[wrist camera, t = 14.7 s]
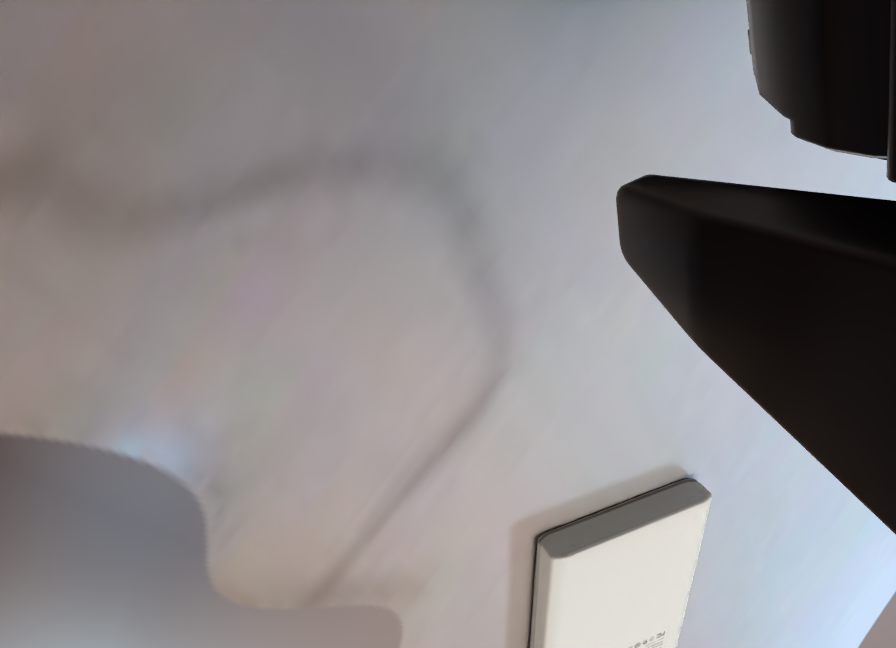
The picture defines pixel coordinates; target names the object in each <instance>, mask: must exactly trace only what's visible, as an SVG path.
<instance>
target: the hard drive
mask: <svg viewBox="0 0 896 648" xmlns="http://www.w3.org/2000/svg"><path fill="white" fill-rule="evenodd" d="M711 500H712V495H711V493H710V492H709V491H708V490H707V489H706V488H705V487H704V486H703V485H702V484H701V483H699V482H697V481H696V480H695V479H685V480H681V481H679V482H676V483H673V484H670V485H668V486H665V487H663V488H660V489H657V490H655V491H652V492H649V493H647V494H644V495H641V496H639V497H636V498H633V499H631V500H629V501H626V502H624V503H621V504H618V505H616V506H613V507H611V508H608V509H606V510H603V511H601V512H598V513H596V514H593V515H590V516H587V517H585V518H583V519H580V520H578V521H575V522H572V523H569V524H567V525H565V526H562V527H559V528H557V529H554V530H551V531H549V532H546V533H544V534H543V535H542V536H541V537H539V539H538V544H537V557H536V570H535V583H534V598H533V610H532V623H531V638H530V648H677V644H678V640H679V636H680V632H681V627H682V623H683V619H684V615H685V611H686V606H687V602H688V598H689V594H690V590H691V585H692V581H693V577H694V573H695V568H696V564H697V560H698V556H699V552H700V547H701V543H702V538H703V534H704V530H705V525H706V521H707V516H708V512H709V508H710V504H711Z"/></svg>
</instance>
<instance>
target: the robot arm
mask: <svg viewBox="0 0 896 648" xmlns="http://www.w3.org/2000/svg"><path fill="white" fill-rule="evenodd" d="M746 1H747V12H748V22H749V30H748V37H749V47H750V53H751V55H752V63H753V71H754V75H755V79H756V82H757V86H758V90H759V93H760V95H761V96H762V97H763V98H764V99H765V100H766V101H768V102H769V103H770V104H771V105H772V106H773V107H774V108H775V109H776V110H777V111H779V112H780V113H781V114H782V115H783V116H784V117H786V118H788V119H790V124H791V133H792V134H793V135H794V136H796V137H797V138H800V139H802V140H805V141H807V142H810V143H813V144H816V145H819V146H821V147H824V148H827V149H830V150H833V151H836V152H841V153H847V154H853V155H858V156H864V157H870V158H878V159H883V160H887V178H888V179H889V180H890V181H892V182H896V0H746ZM616 203H617V215H618V226H619V238H620V246H621V250H622V253H623V255H624V257H625V259H626V261H627V262H628V264H629V265H630V266H631V268H632V269H633V270H634V271H635V272H636V273H637V275H638V276H639V277H640V278H641V279H642V281H643V282H644V283H645V284H646V285H647V287H648V288H649V289H650V290H651V291H652V293H653V294H654V295H655V296H656V297H657V299H658V300H659V301H660V302H661V303H662V305H663V306H664V307H665V308H666V309H667V311H668V312H669V313H670V314H671V315H672V317H673V318H674V319H675V320H676V321H677V323H678V324H679V325H680V326H681V327H682V328H683V330H684V331H685V332H686V333H687V334H688V335H689V337H690V338H691V339H692V340H693V341H694V342H695V343H696V344H697V346H698V347H699V348H700V349H701V350H702V351H703V352H704V353H705V354H706V355H707V356H708V357H709V358H710V359H711V360H713V361H714V362H715V363H716V364H717V365H718V366H719V367H720V368H721V369H722V370H723V371H724V372H725V373H726V374H727V375H728V376H729V377H730V378H731V379H733V380H734V381H735V382H736V383H737V384H738V385H739V386H740V387H741V388H742V389H743V390H744V391H745V392H746V393H747V394H748V395H749V396H750V397H751V398H753V399H754V400H755V401H756V402H757V403H758V404H759V405H760V406H761V407H762V408H763V409H764V410H765V411H766V412H767V413H768V414H769V415H770V416H772V417H773V418H774V419H775V420H776V421H777V422H778V423H779V424H780V425H781V426H782V427H783V428H784V429H785V430H786V431H787V432H788V433H789V434H790V435H792V436H793V437H794V438H795V439H796V440H797V441H798V442H799V443H800V444H801V445H802V446H803V447H804V448H805V449H806V450H807V451H808V452H809V453H811V454H812V455H813V456H814V457H815V458H816V459H817V460H818V461H819V462H820V463H821V464H822V465H823V466H824V467H825V468H826V469H827V470H828V471H829V472H831V473H832V474H833V475H834V476H835V477H836V478H837V479H838V480H839V481H840V482H841V483H842V484H843V485H844V486H845V487H846V488H847V489H848V490H849V491H851V492H852V493H853V494H854V495H855V496H856V497H857V498H858V499H859V500H860V501H861V502H862V503H863V504H864V505H865V506H866V507H867V508H868V509H870V510H871V511H872V512H873V513H874V514H875V515H876V516H877V517H878V518H879V519H880V520H881V521H882V522H883V523H884V524H885V525H886V526H887V527H888V528H890V529H891V530H892V531H893V532H894V533H895V534H896V201H891V200H882V199H873V198H863V197H854V196H845V195H836V194H826V193H817V192H808V191H799V190H789V189H780V188H771V187H762V186H752V185H743V184H734V183H725V182H716V181H706V180H697V179H688V178H679V177H669V176H660V175H645V176H643V177H640V178H638V179H636V180H634V181H632V182H629V183H627V184H625V185H623V186H621V188H620V189H619V190H618V192H617V196H616Z"/></svg>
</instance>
